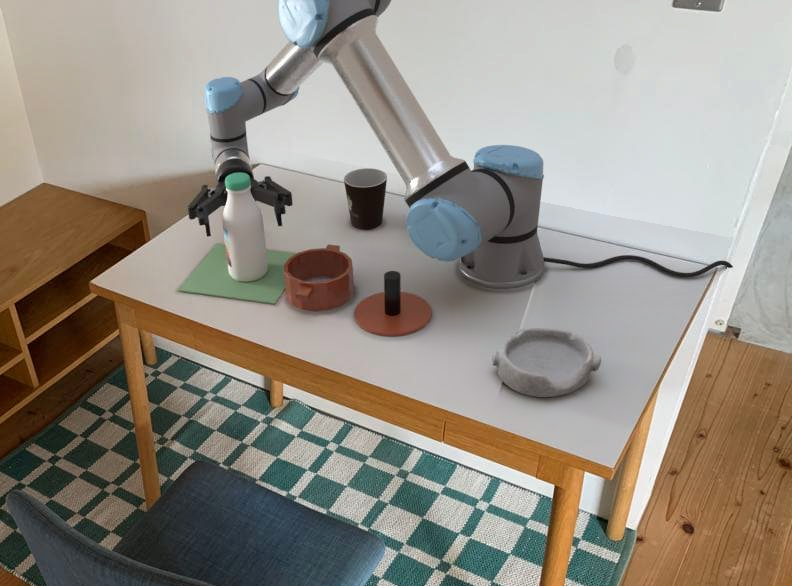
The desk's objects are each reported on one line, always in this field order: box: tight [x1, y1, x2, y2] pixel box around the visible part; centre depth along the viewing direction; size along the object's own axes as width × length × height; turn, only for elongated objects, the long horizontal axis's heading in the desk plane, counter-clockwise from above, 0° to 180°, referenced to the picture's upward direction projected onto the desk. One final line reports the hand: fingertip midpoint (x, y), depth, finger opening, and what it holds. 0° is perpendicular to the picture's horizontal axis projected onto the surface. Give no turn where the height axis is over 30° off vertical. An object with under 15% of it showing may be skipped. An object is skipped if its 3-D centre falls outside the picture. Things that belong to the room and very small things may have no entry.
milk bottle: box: [222, 173, 268, 282], centre depth 172 cm, size 8×8×20 cm
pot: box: [284, 244, 355, 312], centre depth 168 cm, size 12×18×6 cm
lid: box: [353, 270, 432, 337], centre depth 159 cm, size 13×13×9 cm
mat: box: [178, 243, 298, 305], centre depth 178 cm, size 20×18×1 cm
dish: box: [491, 327, 602, 398], centre depth 143 cm, size 14×14×5 cm
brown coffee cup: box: [343, 167, 388, 231], centre depth 187 cm, size 12×9×10 cm
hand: (243, 224), depth 168 cm, fingers open, 13 cm apart
